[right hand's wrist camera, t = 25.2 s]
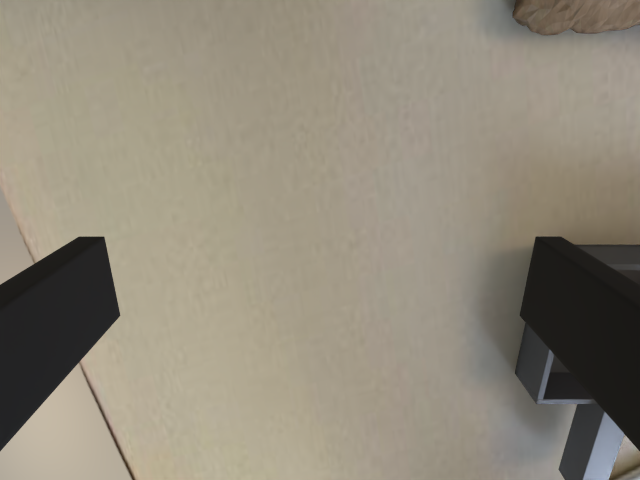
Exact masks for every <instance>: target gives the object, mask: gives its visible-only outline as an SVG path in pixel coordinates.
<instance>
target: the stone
mask: <svg viewBox="0 0 640 480" xmlns="http://www.w3.org/2000/svg"><path fill="white" fill-rule="evenodd" d="M513 18H515V20H516V21H517V22H518V23H519V24H521V25H523V26H527V27H528V28H529V29H530V30H531V31H532V32H536V33H539V34H541V35H555V34H559V33H561V32H564V31H566V30H568V29H570V28H571V29H572V30H573V31H575V32H576V33H599V32H604V31H608V30H623V29H628V28H630V27H632V26H634V25H640V0H516V4H515V10H514V11H513Z"/></svg>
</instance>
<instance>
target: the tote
mask: <svg viewBox="0 0 640 480" xmlns="http://www.w3.org/2000/svg"><path fill="white" fill-rule="evenodd" d="M575 246H577V247H579V248H580V249H582V250H584V251H585V252H587V253H588V254H590V255H592V256H593V257H595V258H597V259H598V260H600V261H602V262H603V263H605V264H606V265H608V266H610V267H611V268H613V269H615V270H616V271H618V272H620V273H621V274H623V275H624V276H626V277H628V278H629V279H631V280H633V281H634V282H636V283H638V284H639V285H640V245H575ZM515 374H516V375H517V377H518V378H519V380H520V381H521V383H522V384H523V385H524V387H525V388H526V390H527V391H528V393H529V394H530V396H531V397H532V399H533V400H534V401H535V403H536V404H577V408H576V411H575V414H574V418H573V421H572V425H571V428H570V432H569V435H568V439H567V442H566V445H565V449H564V452H563V456H562V459H561V463H560V466H559V471H560V472H561V474H562V476H563V477H564V479H565V480H608V479H609V477H610V474H611V471H612V468H613V465H614V462H615V460H616V457H617V454H618V451H619V448H620V446H621V443H622V440H623V437H624V433H623V432H622V431H621V429H620V428H619V427H618V426H617V425H616V424H615V423H614V421H613V420H612V419H611V418H610V417H609V416H608V415H607V414H606V412H605V411H604V410H603V409H602V408H601V407H600V406H599V405H598V403H597V402H596V401H595V400H594V399H593V398H592V397H591V395H590V394H589V393H588V392H587V391H586V390H585V389H584V388H583V386H582V385H581V384H580V383H579V382H578V381H577V380H576V379H575V377H574V376H573V375H572V374H571V373H570V372H569V371H568V369H567V368H566V367H565V366H564V365H563V364H562V363H561V362H560V360H559V359H558V358H557V357H556V356H555V355H554V354H553V353H552V351H551V350H550V349H549V348H548V347H547V346H546V345H545V343H544V342H543V341H542V340H541V339H540V338H539V337H538V336H537V334H536V333H535V332H534V331H533V330H532V329H531V328H530V327H529V325H528V324H527V323H526V324H525V329H524V333H523V338H522V343H521V348H520V352H519V357H518V362H517V366H516V371H515Z"/></svg>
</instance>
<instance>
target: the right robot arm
mask: <svg viewBox="0 0 640 480" xmlns="http://www.w3.org/2000/svg"><path fill="white" fill-rule="evenodd" d="M119 316H120V312H119V307H118V302H117V297H116V292H115V287H114V282H113V278H112V273H111V268H110V263H109V258H108V253H107V248H106V243H105V238H104V237H78V238H76V239H74V240H73V241H71V242H70V243H68V244H66V245H65V246H63V247H61V248H60V249H58V250H56V251H55V252H53V253H52V254H50V255H48V256H47V257H45V258H43V259H42V260H40V261H38V262H37V263H35V264H34V265H32V266H30V267H29V268H27V269H25V270H24V271H22V272H20V273H19V274H17V275H16V276H14V277H12V278H11V279H9V280H7V281H6V282H4V283H2V284H1V285H0V451H1V450H2V449H3V447H4V446H5V445H6V444H7V443H8V442H9V441H10V440H11V438H12V437H13V436H14V435H15V434H16V433H17V432H18V431H19V429H20V428H21V427H22V426H23V425H24V424H25V423H26V421H27V420H28V419H29V418H30V417H31V416H32V415H33V413H34V412H35V411H36V410H37V409H38V408H39V407H40V406H41V404H42V403H43V402H44V401H45V400H46V399H47V398H48V397H49V395H50V394H51V393H52V392H53V391H54V390H55V389H56V388H57V386H58V385H59V384H60V383H61V382H62V381H63V380H64V379H65V377H66V376H67V375H68V374H69V373H70V372H71V371H72V369H73V368H74V367H75V366H76V365H77V364H78V363H79V362H80V360H81V359H82V358H83V357H84V356H85V355H86V354H87V353H88V351H89V350H90V349H91V348H92V347H93V346H94V345H95V343H96V342H97V341H98V340H99V339H100V338H101V337H102V336H103V334H104V333H105V332H106V331H107V330H108V329H109V328H110V327H111V325H112V324H113V323H114V322H115V321H116V320H117V319H118V317H119ZM520 316H521V317H522V319H523V320H524V321H525V322H526V323H527V324H528V325H529V327H530V328H531V329H532V330H533V331H534V332H535V333H536V334H537V336H538V337H539V338H540V339H541V340H542V341H543V342H544V343H545V345H546V346H547V347H548V348H549V349H550V350H551V351H552V353H553V354H554V355H555V356H556V357H557V358H558V359H559V360H560V362H561V363H562V364H563V365H564V366H565V367H566V368H567V369H568V371H569V372H570V373H571V374H572V375H573V376H574V377H575V379H576V380H577V381H578V382H579V383H580V384H581V385H582V386H583V388H584V389H585V390H586V391H587V392H588V393H589V394H590V395H591V397H592V398H593V399H594V400H595V401H596V402H597V403H598V405H599V406H600V407H601V408H602V409H603V410H604V411H605V412H606V414H607V415H608V416H609V417H610V418H611V419H612V420H613V421H614V423H615V424H616V425H617V426H618V427H619V428H620V429H621V431H622V432H623V433H624V434H625V435H626V436H627V437H628V438H629V440H630V441H631V442H632V443H633V444H634V445H635V446H636V448H637V449H638V450H639V451H640V285H639V284H638V283H636V282H634V281H633V280H631V279H629V278H628V277H626V276H624V275H623V274H621V273H620V272H618V271H616V270H615V269H613V268H611V267H610V266H608V265H606V264H605V263H603V262H602V261H600V260H598V259H597V258H595V257H593V256H592V255H590V254H588V253H587V252H585V251H584V250H582V249H580V248H579V247H577V246H575V245H574V244H572V243H570V242H569V241H567V240H566V239H564V238H562V237H536V238H535V243H534V248H533V253H532V258H531V263H530V268H529V273H528V278H527V282H526V287H525V292H524V297H523V302H522V307H521V312H520Z"/></svg>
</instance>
